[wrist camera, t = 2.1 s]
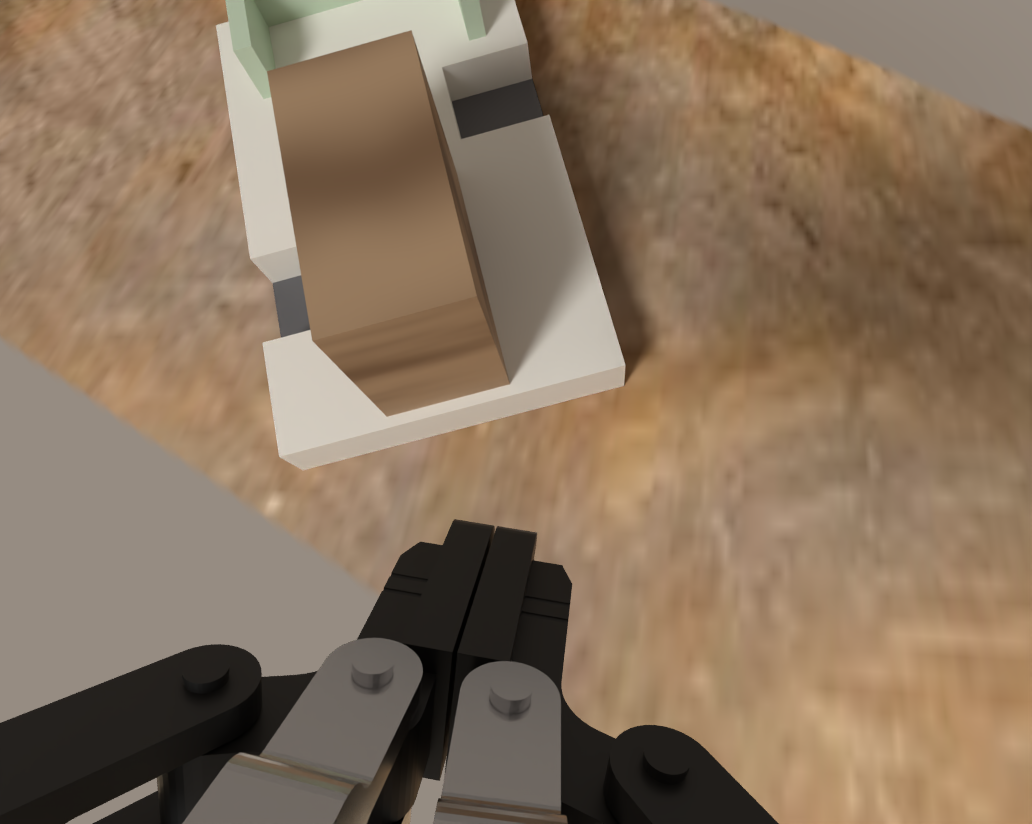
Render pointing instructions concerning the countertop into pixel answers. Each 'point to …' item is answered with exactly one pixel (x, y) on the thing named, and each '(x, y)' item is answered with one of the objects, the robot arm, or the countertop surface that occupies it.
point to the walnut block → (383, 227)
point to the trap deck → (488, 200)
